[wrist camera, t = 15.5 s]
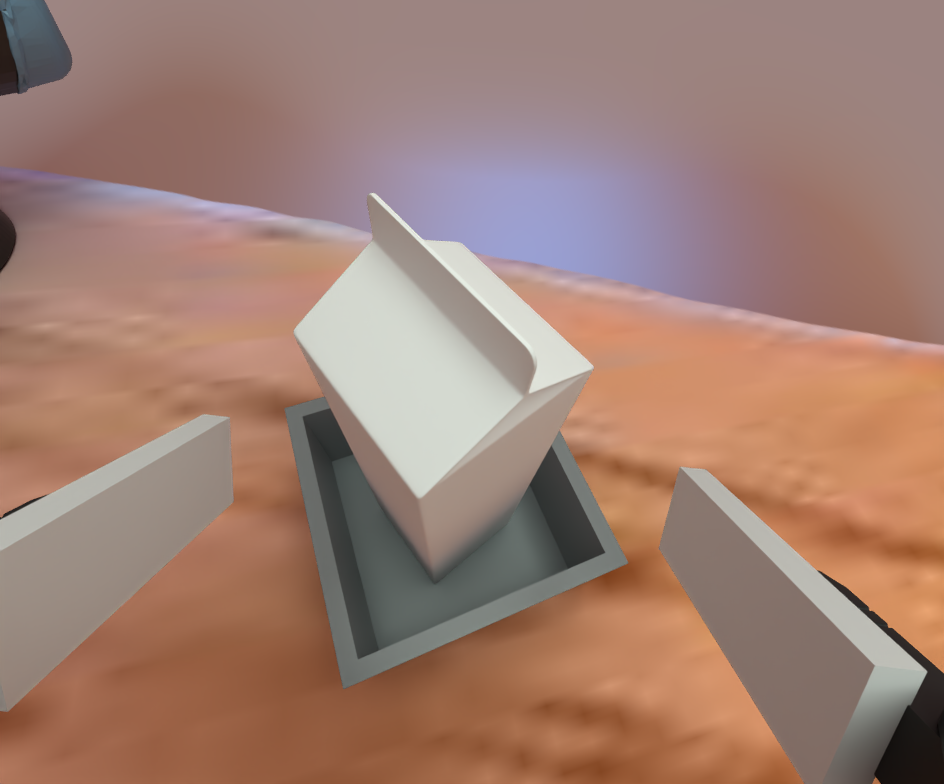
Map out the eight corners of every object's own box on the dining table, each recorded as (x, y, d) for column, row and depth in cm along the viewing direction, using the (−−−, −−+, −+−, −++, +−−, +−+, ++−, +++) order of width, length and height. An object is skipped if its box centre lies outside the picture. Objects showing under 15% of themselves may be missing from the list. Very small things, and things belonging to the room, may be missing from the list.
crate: (320, 459, 31) (284, 408, 24) (499, 402, 34) (513, 341, 27) (371, 674, 25) (343, 689, 18) (582, 581, 28) (628, 563, 21)
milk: (435, 585, 26) (403, 459, 7) (379, 506, 29) (235, 242, 9) (510, 521, 28) (645, 287, 9) (453, 451, 31) (463, 141, 11)
